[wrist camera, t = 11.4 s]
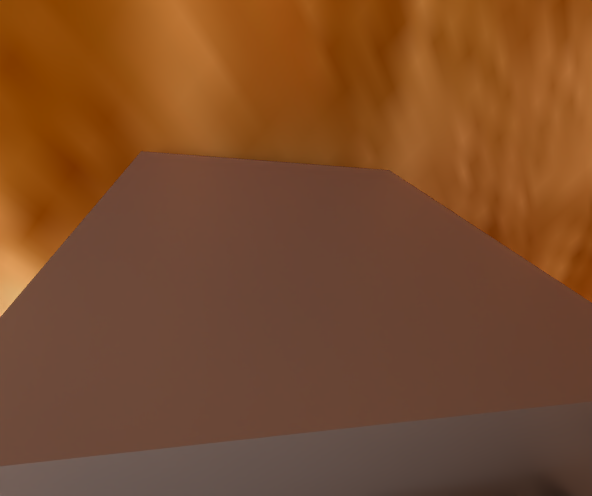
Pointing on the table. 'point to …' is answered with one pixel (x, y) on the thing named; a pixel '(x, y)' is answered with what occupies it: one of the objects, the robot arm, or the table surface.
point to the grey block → (290, 346)
